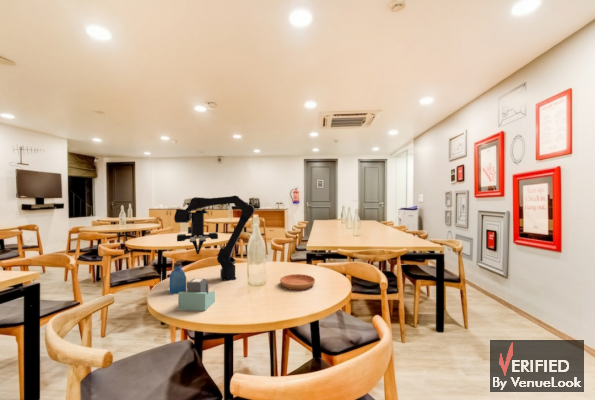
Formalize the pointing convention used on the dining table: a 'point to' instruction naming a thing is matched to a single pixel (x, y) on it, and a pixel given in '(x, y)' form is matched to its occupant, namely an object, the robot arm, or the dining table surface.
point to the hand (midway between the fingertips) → (197, 254)
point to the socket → (195, 300)
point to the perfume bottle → (177, 279)
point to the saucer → (297, 281)
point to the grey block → (197, 285)
